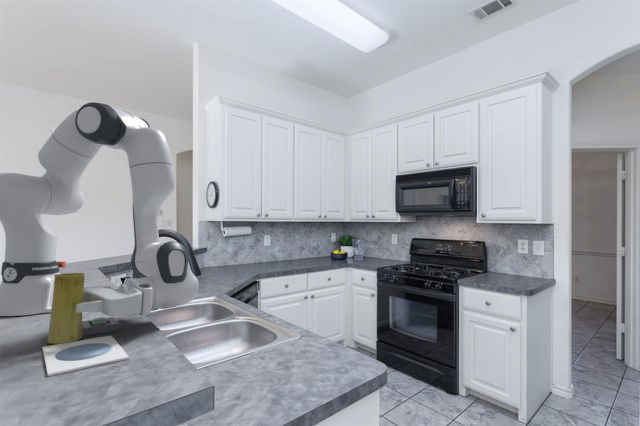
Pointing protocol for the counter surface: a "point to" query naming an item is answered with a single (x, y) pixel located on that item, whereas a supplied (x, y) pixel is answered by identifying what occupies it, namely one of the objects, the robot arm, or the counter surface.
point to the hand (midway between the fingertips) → (68, 304)
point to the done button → (99, 321)
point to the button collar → (99, 327)
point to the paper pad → (82, 354)
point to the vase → (66, 308)
